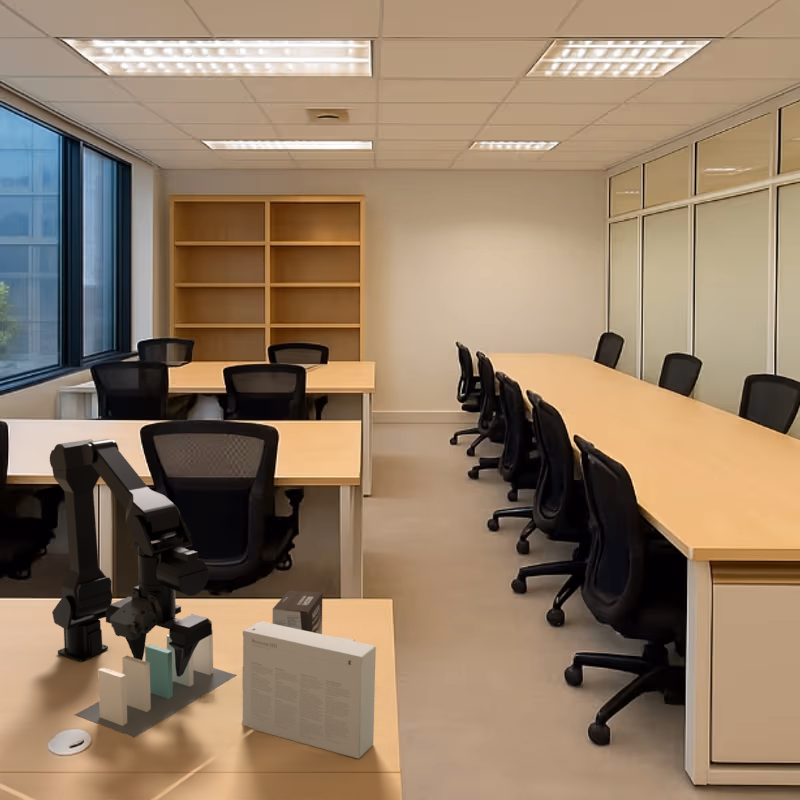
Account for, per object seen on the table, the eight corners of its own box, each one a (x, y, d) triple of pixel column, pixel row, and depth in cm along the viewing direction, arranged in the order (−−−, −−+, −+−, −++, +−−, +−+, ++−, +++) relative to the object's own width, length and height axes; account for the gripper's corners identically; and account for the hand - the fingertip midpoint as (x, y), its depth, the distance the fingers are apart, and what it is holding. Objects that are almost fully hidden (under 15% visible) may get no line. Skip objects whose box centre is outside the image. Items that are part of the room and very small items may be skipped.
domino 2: (123, 703, 145) (122, 657, 144) (128, 701, 146) (126, 655, 145) (146, 712, 143) (144, 665, 141) (150, 709, 143) (149, 662, 142)
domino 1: (99, 717, 141) (98, 669, 139) (104, 714, 142) (103, 667, 140) (122, 725, 138) (121, 677, 137) (127, 723, 139) (125, 675, 138)
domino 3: (167, 679, 154) (166, 635, 152) (171, 677, 154) (170, 633, 153) (189, 686, 151) (188, 642, 150) (193, 684, 152) (192, 640, 151)
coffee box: (308, 704, 147) (308, 612, 144) (270, 700, 148) (270, 608, 145) (323, 679, 156) (324, 591, 153) (288, 675, 157) (288, 588, 154)
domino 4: (187, 668, 158) (186, 625, 157) (191, 666, 159) (190, 623, 157) (209, 675, 155) (208, 631, 154) (213, 672, 156) (212, 629, 155)
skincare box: (376, 743, 136) (377, 644, 133) (359, 760, 131) (361, 659, 128) (260, 711, 144) (259, 618, 142) (240, 726, 140) (239, 631, 137)
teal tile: (146, 691, 149) (145, 646, 148) (150, 688, 150) (149, 644, 149) (168, 698, 147) (167, 653, 146) (172, 696, 148) (171, 651, 146)
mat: (74, 716, 141) (74, 714, 141) (180, 659, 162) (180, 657, 162) (134, 739, 135) (134, 737, 135) (236, 677, 156) (236, 675, 156)
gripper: (77, 583, 143) (81, 674, 145) (163, 607, 134) (166, 704, 136) (129, 563, 152) (132, 649, 155) (213, 584, 143) (214, 675, 146)
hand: (159, 668), depth 148 cm, fingers open, 9 cm apart
